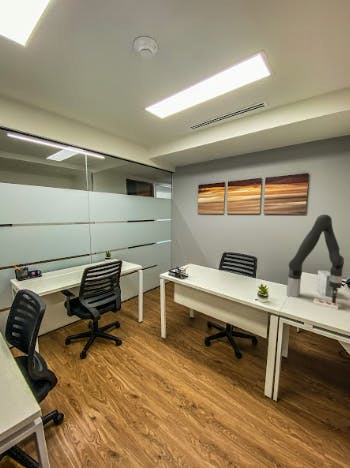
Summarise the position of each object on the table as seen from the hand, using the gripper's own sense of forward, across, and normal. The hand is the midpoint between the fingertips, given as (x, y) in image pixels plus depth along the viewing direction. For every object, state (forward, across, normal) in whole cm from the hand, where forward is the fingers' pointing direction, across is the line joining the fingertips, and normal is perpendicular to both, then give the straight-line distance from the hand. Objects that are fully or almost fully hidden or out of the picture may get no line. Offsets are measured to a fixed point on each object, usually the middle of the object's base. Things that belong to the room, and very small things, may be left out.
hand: (333, 300), depth 159 cm
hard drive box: (+5, +24, +6) cm, 25 cm away
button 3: (+3, -4, 0) cm, 5 cm away
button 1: (+3, -4, +10) cm, 11 cm away
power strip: (+5, -4, +6) cm, 9 cm away
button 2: (+3, -4, +5) cm, 7 cm away
